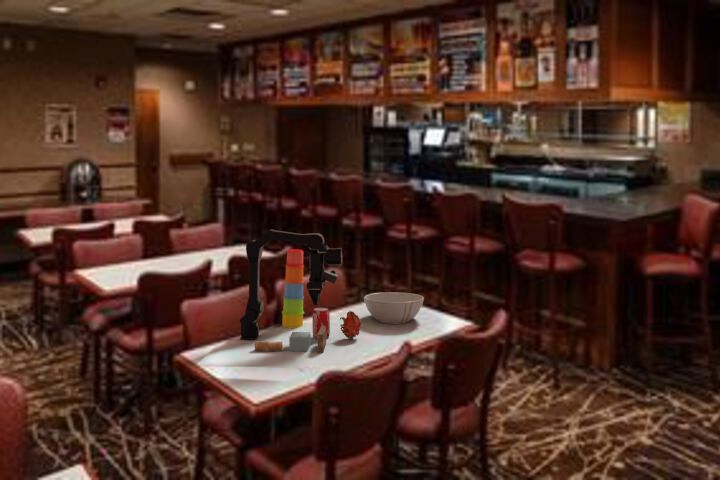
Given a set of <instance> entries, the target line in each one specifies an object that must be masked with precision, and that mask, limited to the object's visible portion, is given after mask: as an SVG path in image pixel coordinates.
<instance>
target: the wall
mask: <svg viewBox="0 0 720 480" xmlns="http://www.w3.org/2000/svg"><path fill="white" fill-rule="evenodd" d="M326 346H327V338H326V326H321V328H320V330H319V332H318V339H317V353H319V354H323V353H324V351H325V349H326Z"/></svg>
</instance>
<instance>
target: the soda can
mask: <svg viewBox="0 0 720 480" xmlns="http://www.w3.org/2000/svg"><path fill="white" fill-rule="evenodd" d="M330 316H331V315H330V311H329V308H327V307H315V308H314V309H313V311H312V319H311V320H312V321H311V322H312V324H311V325H312V337H313V338H315V339H317V340H318V332H319V330H320V328H321V326H326V339H328V338H329V337H330V333H331V332H330V331H331V329H330V328H331V319H330V318H331V317H330Z"/></svg>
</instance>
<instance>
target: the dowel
mask: <svg viewBox="0 0 720 480" xmlns="http://www.w3.org/2000/svg"><path fill="white" fill-rule="evenodd" d="M254 351H255V352H282V351H283V341H254Z"/></svg>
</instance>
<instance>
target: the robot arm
mask: <svg viewBox="0 0 720 480" xmlns="http://www.w3.org/2000/svg"><path fill="white" fill-rule="evenodd" d="M271 241H279V242H285V243H286V242H287V243H292V244H293V243H295V244H299V245H303V246H306V247H307V250H305V252H304V254H305V255H309V266H308V267H309V268H308V271H309V278H308V282H307V283H306V290H307V292H308V294H309V297H310V298H311V302H312V303H313V305H314V306H316V307H317V306H318V303H319V302H320V298H321V293H322V291H323V290H324V287H325V286H326V283H327V282H329V283H331V284H334V285H335V284H336V283H337V280H338V277H339V275H338V274H337V273H336V270H333V269H332V270H330V271H329V270H326V268H325V263H326V264H327V266H343V257H344V256H343V253H342V252H343V251H342V250H343V249H342V247H337V248H330V247H329V246H328V244H326V242H325V237H324V236H323V235H322V234H321V233H319V232H317V233H296V232H290V231H283V230H282V231H281V230H275V229H269V230H266V231H265V233H263V234H262V235H261V236H259V237H258V238H256V239H253V240H250V241H249V242H247V243H246V245H245V252H246V257H247V260H248V264H249V265H248V299H247V301H246V302H247V303H246V305H245V306H246V307H245V312H244V313H245V314H244V315H243V316H242V317H241V318H240V319H239V323H240V337H239V339H240V340H256V339H257V338H258V337H259V336H260V325H258V323H259V322H258V319H259V318H260V316H262V315H263V314H262V313H263V312H264V311H265V309H264V305H265V304H264V302H265V301H264V300H261V298H260V275H261V274H260V267H261V266H260V262H261V259H262V256H263V253H264V252H263V251H264V247H265V246H267V245H268V244H269V243H271ZM319 250H320V251H319Z"/></svg>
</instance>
